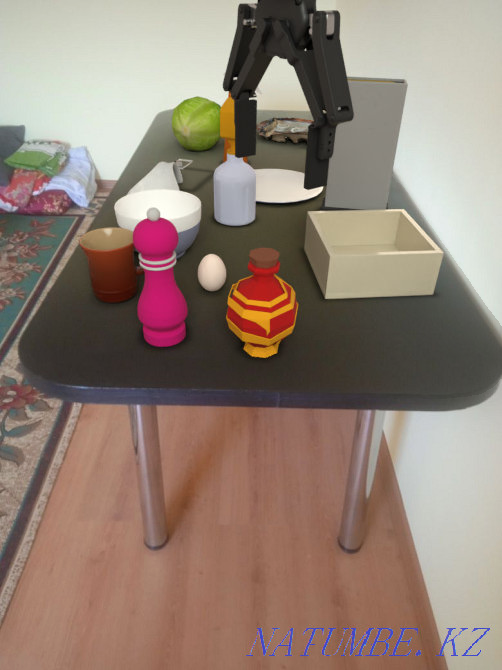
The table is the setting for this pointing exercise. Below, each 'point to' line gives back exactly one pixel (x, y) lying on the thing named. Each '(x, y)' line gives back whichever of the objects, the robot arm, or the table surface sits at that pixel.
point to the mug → (111, 263)
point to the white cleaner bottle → (233, 178)
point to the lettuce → (197, 123)
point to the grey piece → (282, 125)
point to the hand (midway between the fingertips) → (277, 170)
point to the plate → (282, 186)
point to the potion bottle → (262, 305)
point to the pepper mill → (159, 281)
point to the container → (366, 146)
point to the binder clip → (181, 163)
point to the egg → (211, 272)
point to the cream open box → (371, 254)
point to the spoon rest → (160, 178)
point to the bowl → (162, 213)
